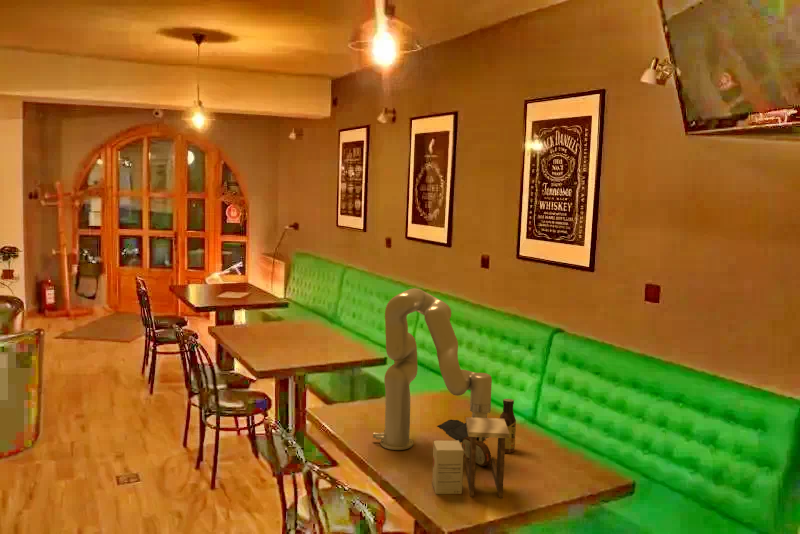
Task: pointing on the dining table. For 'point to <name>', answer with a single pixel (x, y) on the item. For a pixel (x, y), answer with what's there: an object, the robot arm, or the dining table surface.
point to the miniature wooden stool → (500, 431)
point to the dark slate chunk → (455, 429)
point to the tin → (477, 451)
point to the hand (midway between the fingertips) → (478, 454)
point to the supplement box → (447, 467)
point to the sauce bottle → (509, 424)
